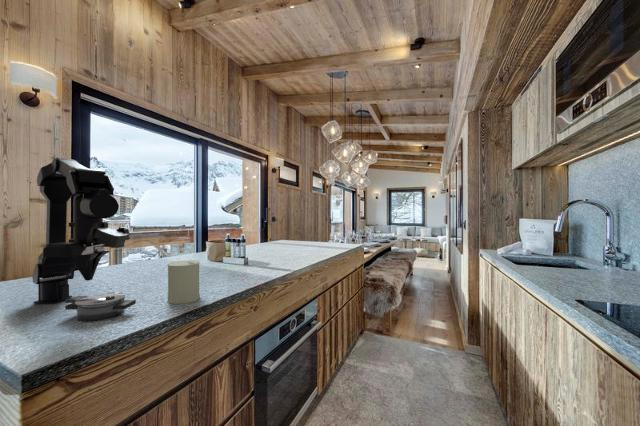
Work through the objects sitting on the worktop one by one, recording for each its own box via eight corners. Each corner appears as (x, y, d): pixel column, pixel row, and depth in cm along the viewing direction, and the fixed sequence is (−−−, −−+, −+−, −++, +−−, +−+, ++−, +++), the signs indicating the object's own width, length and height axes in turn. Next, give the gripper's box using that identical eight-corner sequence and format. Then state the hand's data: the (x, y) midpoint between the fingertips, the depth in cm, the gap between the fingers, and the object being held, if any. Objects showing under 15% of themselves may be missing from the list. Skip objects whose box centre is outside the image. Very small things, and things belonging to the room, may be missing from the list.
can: (187, 305, 84) (187, 264, 84) (160, 303, 85) (160, 263, 85) (205, 296, 93) (205, 259, 93) (181, 294, 94) (181, 258, 94)
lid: (53, 306, 70) (53, 301, 70) (88, 295, 80) (88, 291, 81) (107, 305, 70) (107, 300, 70) (134, 295, 81) (134, 290, 81)
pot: (55, 322, 70) (55, 308, 70) (91, 307, 82) (91, 295, 82) (118, 321, 71) (118, 307, 71) (144, 306, 82) (144, 294, 82)
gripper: (92, 219, 62) (93, 290, 62) (143, 217, 80) (143, 272, 80) (40, 219, 61) (40, 290, 61) (103, 217, 80) (103, 272, 80)
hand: (88, 280), depth 71 cm, fingers closed
